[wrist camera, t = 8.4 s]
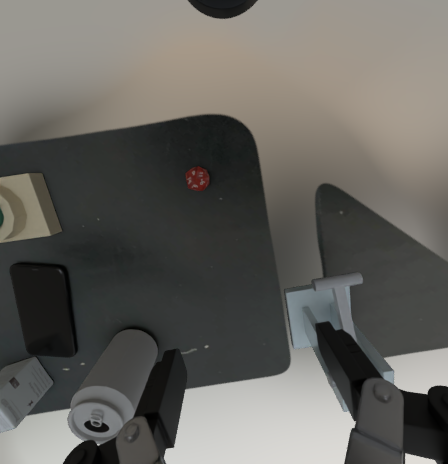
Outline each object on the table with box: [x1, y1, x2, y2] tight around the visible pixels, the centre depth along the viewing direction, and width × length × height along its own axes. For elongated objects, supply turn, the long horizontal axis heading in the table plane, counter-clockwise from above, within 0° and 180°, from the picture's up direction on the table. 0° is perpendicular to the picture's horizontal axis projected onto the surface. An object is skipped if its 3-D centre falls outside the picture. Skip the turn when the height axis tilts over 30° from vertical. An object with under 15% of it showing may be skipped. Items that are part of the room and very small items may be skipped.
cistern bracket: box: [284, 284, 394, 412], centre depth 28 cm, size 10×9×13 cm
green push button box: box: [0, 173, 62, 243], centre depth 29 cm, size 11×8×4 cm
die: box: [186, 166, 209, 191], centre depth 28 cm, size 3×3×3 cm
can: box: [68, 329, 158, 444], centre depth 30 cm, size 8×8×12 cm
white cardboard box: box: [0, 357, 53, 433], centre depth 34 cm, size 6×6×7 cm
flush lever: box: [312, 272, 363, 344], centre depth 24 cm, size 12×5×2 cm, turn 11°
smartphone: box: [10, 263, 76, 357], centre depth 34 cm, size 8×1×16 cm
